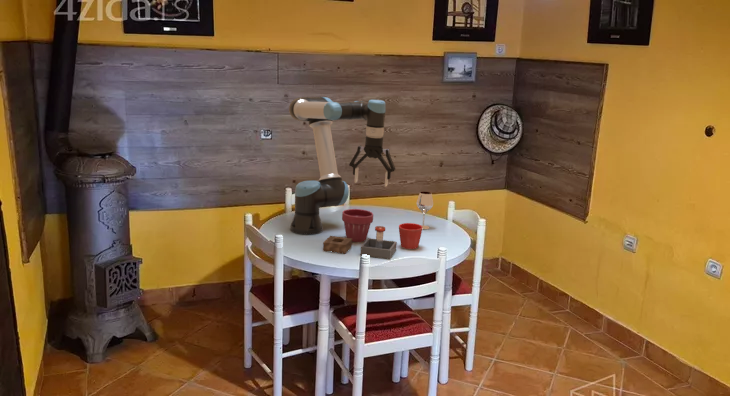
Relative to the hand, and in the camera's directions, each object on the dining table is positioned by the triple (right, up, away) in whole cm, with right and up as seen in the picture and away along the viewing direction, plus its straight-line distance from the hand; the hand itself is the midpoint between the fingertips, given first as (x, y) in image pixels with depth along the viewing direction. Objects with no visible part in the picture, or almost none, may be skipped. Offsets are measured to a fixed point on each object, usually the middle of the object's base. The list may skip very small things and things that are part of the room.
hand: (370, 184), depth 267 cm
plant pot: (-7, -25, +15) cm, 30 cm away
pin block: (-15, -28, 0) cm, 32 cm away
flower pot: (+17, -28, +8) cm, 34 cm away
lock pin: (+3, -29, -2) cm, 30 cm away
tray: (+3, -30, -2) cm, 30 cm away
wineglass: (+27, -21, +39) cm, 52 cm away
